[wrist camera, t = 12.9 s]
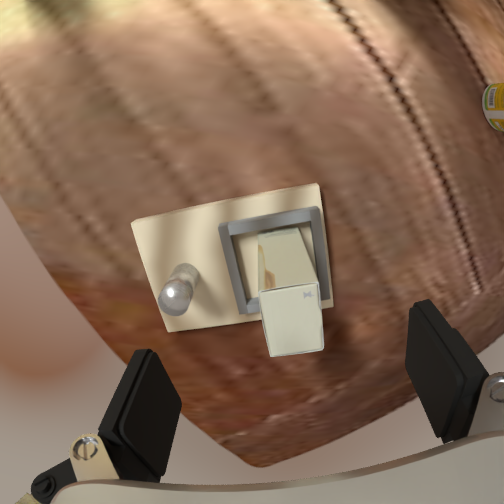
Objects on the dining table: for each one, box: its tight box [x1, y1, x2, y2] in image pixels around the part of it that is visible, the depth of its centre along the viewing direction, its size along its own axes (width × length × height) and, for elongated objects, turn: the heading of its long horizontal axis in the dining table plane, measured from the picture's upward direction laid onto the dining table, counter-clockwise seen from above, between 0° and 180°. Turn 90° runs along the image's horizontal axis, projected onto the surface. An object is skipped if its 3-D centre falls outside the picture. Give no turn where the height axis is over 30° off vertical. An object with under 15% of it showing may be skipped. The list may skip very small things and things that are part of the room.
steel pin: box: [158, 263, 199, 316], centre depth 32 cm, size 3×3×6 cm
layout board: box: [131, 183, 334, 332], centre depth 34 cm, size 20×14×3 cm
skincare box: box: [258, 227, 324, 357], centre depth 28 cm, size 6×4×12 cm
